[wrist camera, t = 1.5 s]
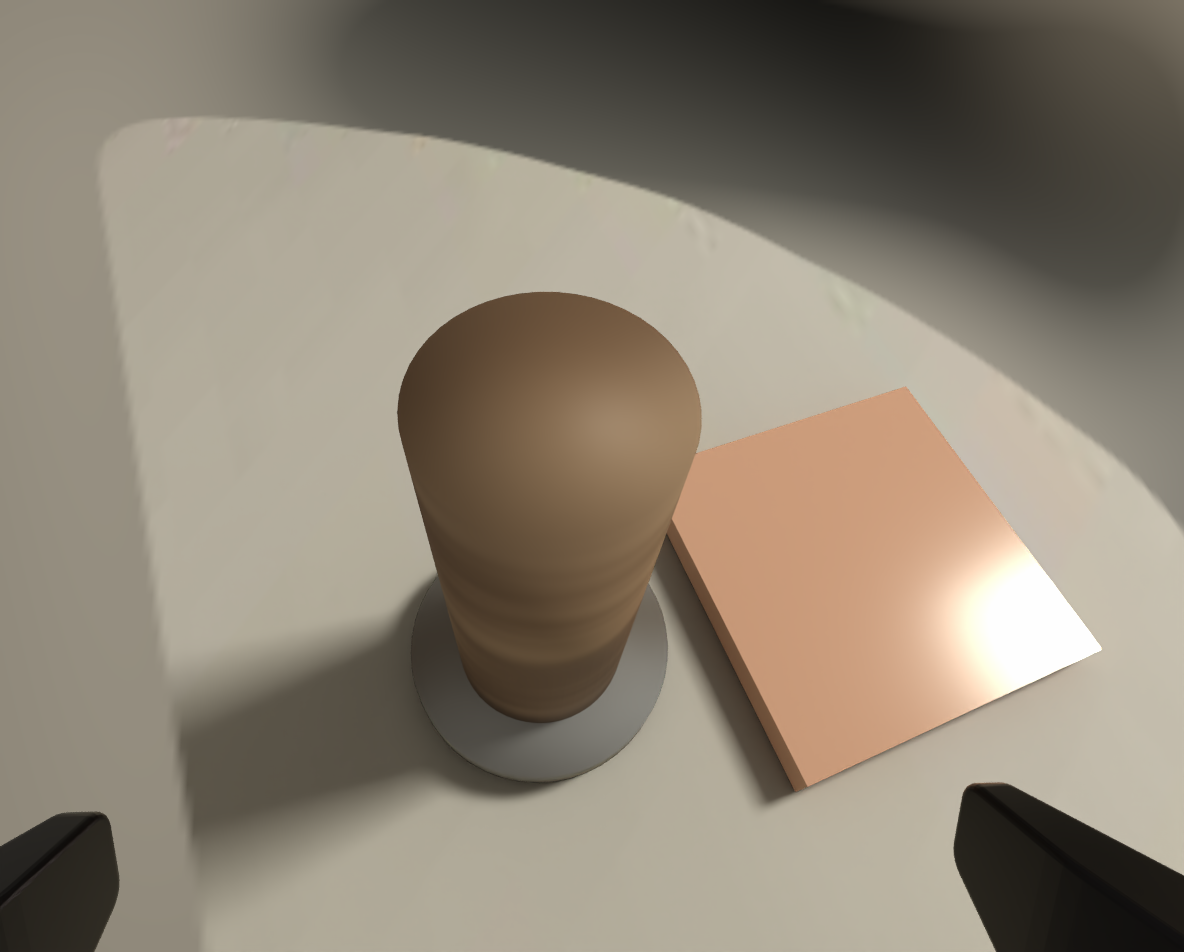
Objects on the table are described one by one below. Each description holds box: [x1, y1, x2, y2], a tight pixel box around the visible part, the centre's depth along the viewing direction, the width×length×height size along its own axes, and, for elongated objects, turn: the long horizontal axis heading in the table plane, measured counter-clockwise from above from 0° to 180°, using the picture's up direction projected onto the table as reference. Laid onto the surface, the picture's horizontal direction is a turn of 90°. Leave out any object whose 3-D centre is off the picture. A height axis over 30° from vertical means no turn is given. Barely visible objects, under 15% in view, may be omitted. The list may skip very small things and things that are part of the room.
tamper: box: [397, 292, 702, 783], centre depth 16 cm, size 7×7×12 cm
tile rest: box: [667, 387, 1102, 792], centre depth 23 cm, size 10×10×1 cm
